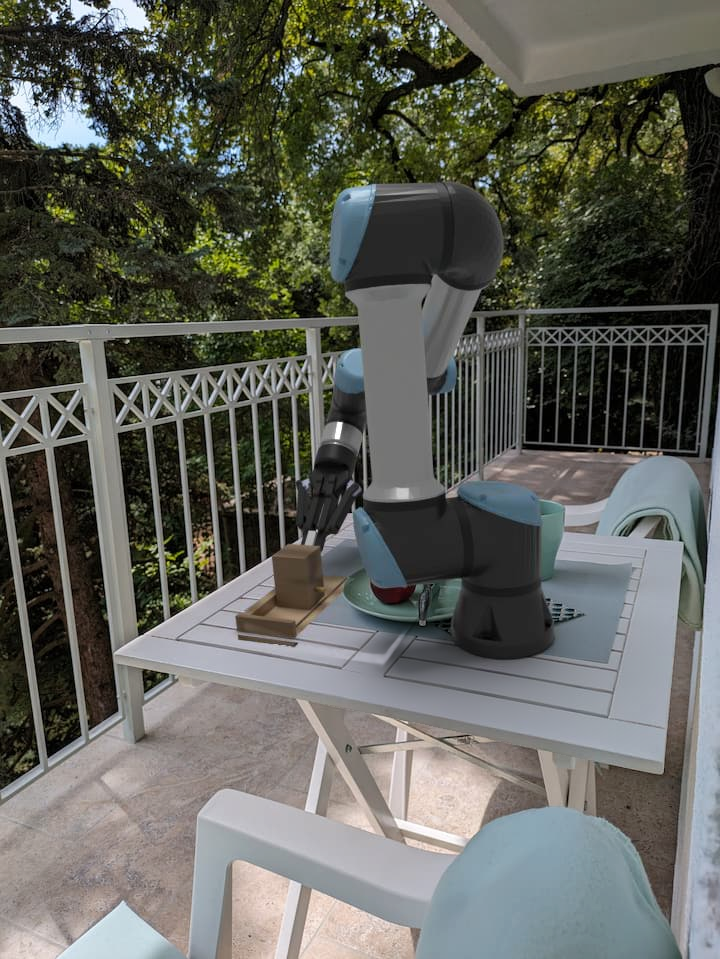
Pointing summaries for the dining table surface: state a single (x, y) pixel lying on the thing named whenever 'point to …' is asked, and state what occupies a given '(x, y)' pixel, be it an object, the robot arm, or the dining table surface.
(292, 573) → the brown wooden block
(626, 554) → the dining table surface
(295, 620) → the brown wooden tray
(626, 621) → the dining table surface
